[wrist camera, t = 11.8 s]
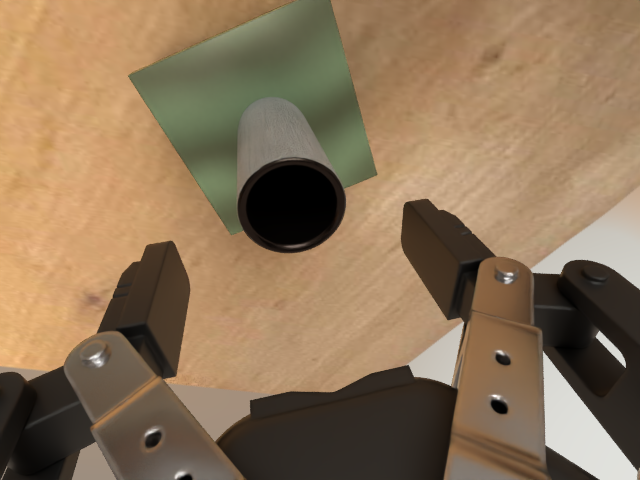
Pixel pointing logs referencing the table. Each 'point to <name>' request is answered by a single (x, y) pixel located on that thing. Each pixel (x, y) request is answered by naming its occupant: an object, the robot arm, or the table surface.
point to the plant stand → (257, 96)
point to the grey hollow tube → (285, 180)
